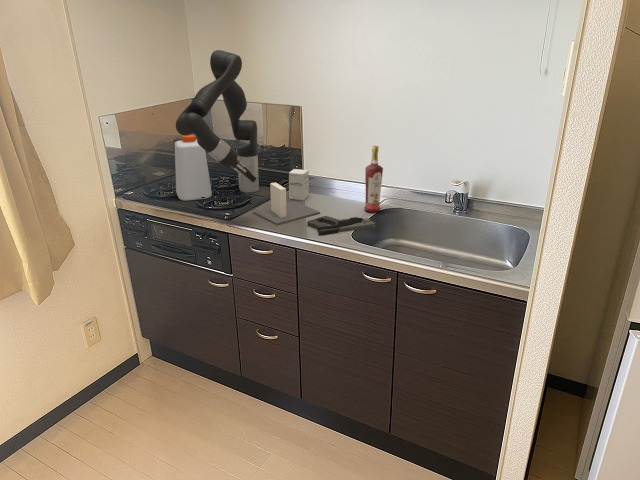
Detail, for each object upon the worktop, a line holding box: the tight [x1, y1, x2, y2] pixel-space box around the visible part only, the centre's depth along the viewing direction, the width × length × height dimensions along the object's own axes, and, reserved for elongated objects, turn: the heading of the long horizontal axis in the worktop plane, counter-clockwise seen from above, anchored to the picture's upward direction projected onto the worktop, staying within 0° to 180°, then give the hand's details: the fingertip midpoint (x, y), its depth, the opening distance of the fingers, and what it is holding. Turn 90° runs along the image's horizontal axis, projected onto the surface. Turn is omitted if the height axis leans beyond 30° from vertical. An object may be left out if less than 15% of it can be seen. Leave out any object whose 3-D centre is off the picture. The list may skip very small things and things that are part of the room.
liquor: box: [363, 145, 384, 214], centre depth 212 cm, size 7×7×28 cm
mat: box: [252, 200, 321, 226], centre depth 214 cm, size 18×22×1 cm
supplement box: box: [288, 168, 310, 201], centre depth 231 cm, size 7×7×13 cm
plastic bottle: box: [174, 134, 213, 202], centre depth 230 cm, size 15×15×28 cm
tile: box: [269, 182, 287, 218], centre depth 209 cm, size 10×3×12 cm, turn 29°
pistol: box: [306, 215, 377, 237], centre depth 202 cm, size 2×26×15 cm
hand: (254, 180), depth 201 cm, fingers closed
